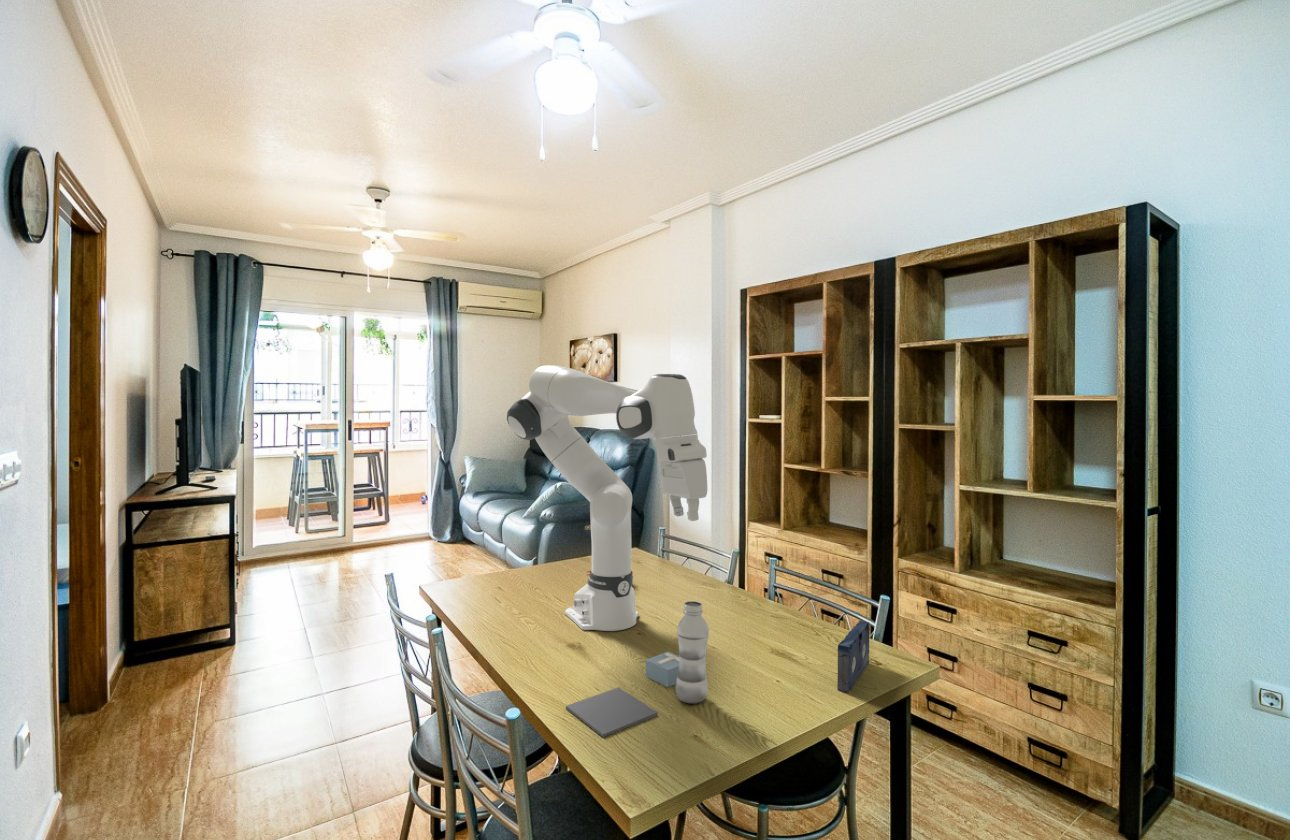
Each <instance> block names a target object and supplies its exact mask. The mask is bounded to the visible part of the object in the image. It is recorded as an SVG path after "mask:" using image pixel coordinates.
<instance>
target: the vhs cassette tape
mask: <svg viewBox="0 0 1290 840" xmlns="http://www.w3.org/2000/svg"><path fill="white" fill-rule="evenodd" d="M870 628H871V626H870V622H868V621H864V620H859V621H858V622H857V623H856V624H855V625H854V626H853V628H851V630H849V631H848V633H847V635H845V637H844V639H843V640H841V641H840V642H839V643H838V644H837V678H836V679H837V685H836V686H837V687H836V688H837V691H841V692H843V693H844V692H845V693H847V692H848V694H849V693H850V692H851V690H852V689H853V688H854V686H855V685H856V683H857V682H858V680H859V679H860V677H861V676H860V675H862V674H863V673H864V671H865V670H866V668H867V667H868V665H869V664H870V655H869V654H870V632H871V631H870V630H871V629H870ZM858 678H859V679H858ZM856 681H857V682H856ZM849 691H850V692H849Z"/></svg>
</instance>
